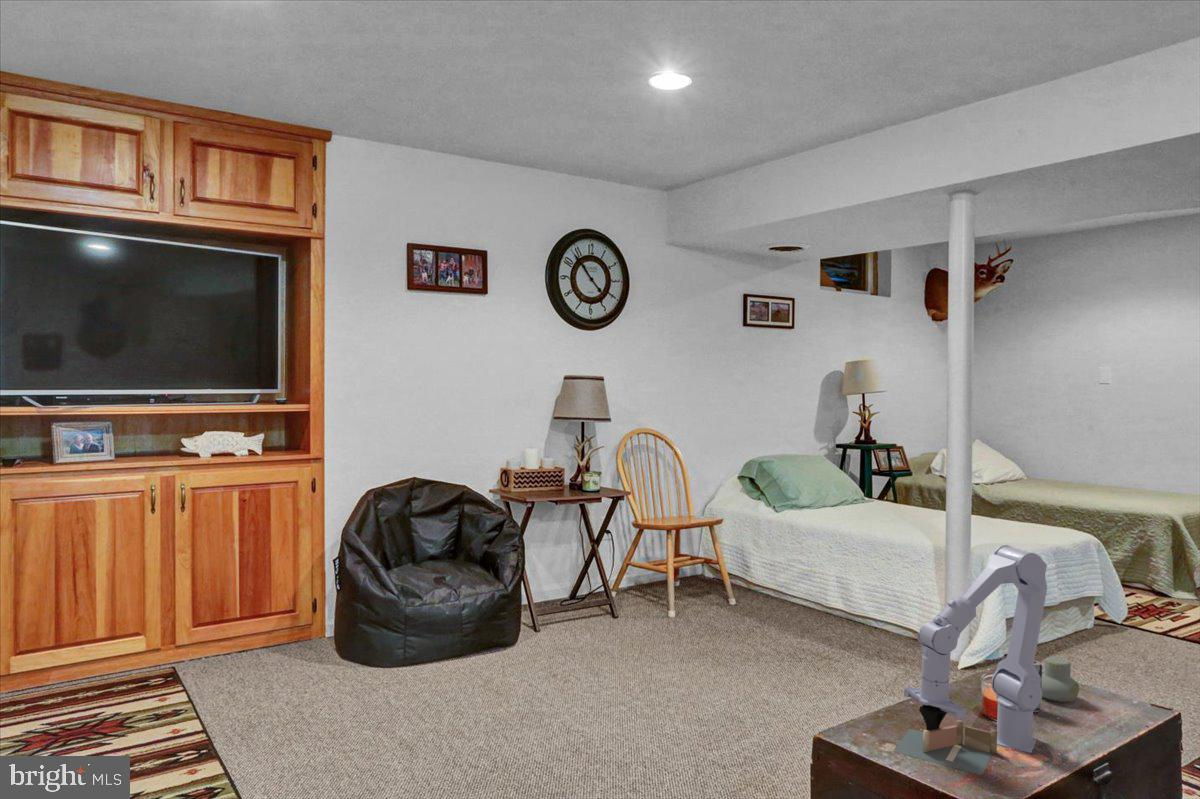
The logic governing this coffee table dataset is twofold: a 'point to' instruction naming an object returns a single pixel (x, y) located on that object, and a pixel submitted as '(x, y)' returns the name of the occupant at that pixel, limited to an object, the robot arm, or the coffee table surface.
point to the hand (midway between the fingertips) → (932, 739)
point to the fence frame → (977, 738)
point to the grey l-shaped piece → (1058, 680)
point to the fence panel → (939, 738)
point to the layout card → (944, 753)
